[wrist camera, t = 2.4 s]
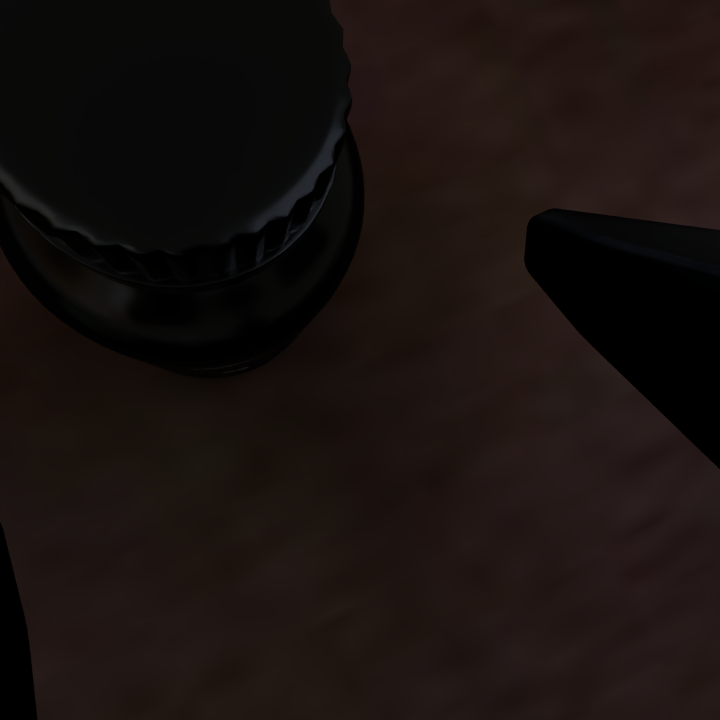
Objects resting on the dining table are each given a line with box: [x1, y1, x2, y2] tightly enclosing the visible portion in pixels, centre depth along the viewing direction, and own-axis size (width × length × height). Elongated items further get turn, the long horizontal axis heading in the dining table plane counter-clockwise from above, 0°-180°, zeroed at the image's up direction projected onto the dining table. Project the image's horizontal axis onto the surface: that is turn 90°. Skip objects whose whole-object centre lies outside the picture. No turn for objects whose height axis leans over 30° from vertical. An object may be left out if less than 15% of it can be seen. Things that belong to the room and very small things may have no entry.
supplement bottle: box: [0, 0, 364, 378], centre depth 12 cm, size 7×7×12 cm
